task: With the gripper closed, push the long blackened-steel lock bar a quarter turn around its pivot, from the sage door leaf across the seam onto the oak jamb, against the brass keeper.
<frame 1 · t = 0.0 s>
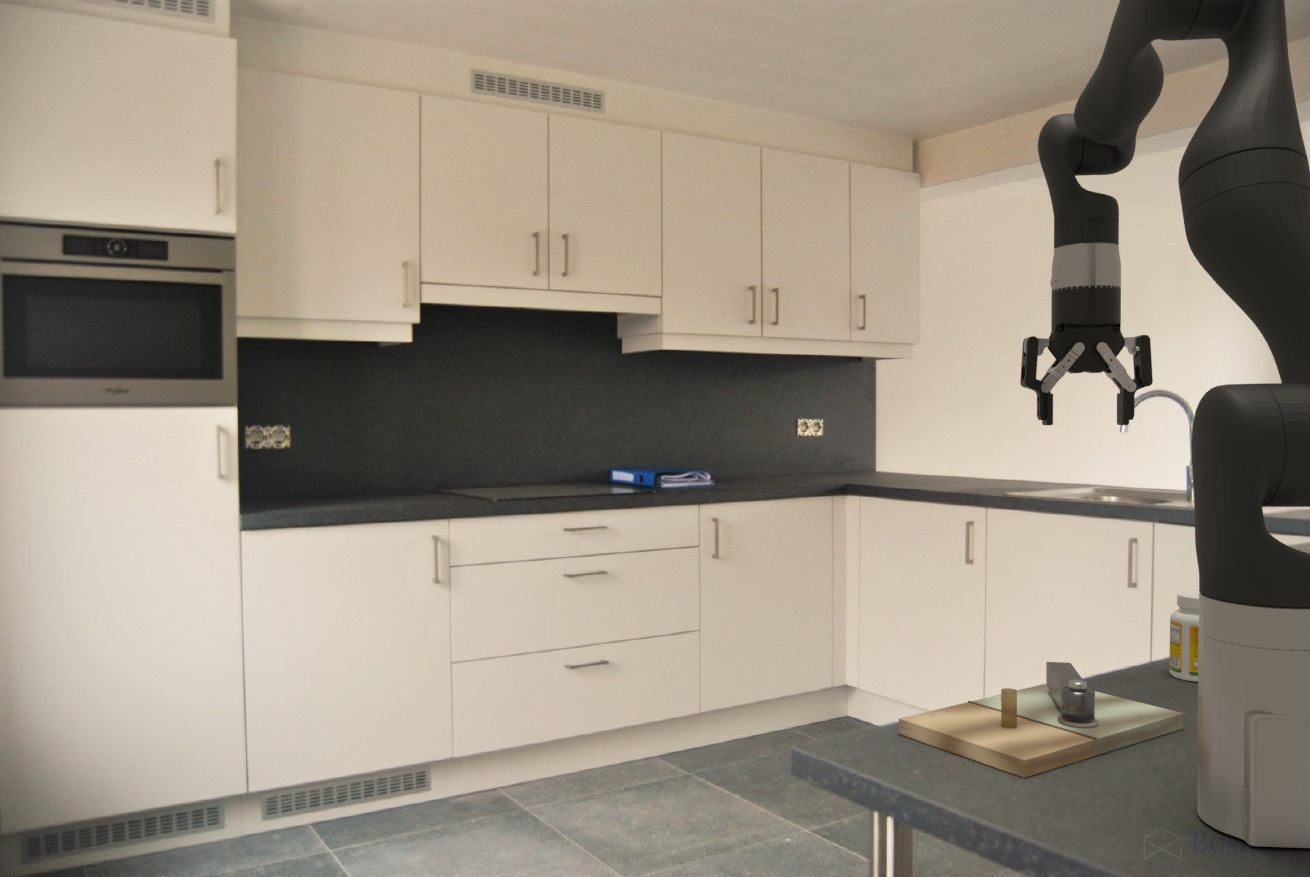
hand: (1085, 425, 123), 29 cm above the counter, fingers open, 8 cm apart
lock bar: (1068, 685, 104), point 4 cm above the counter, hinge at -90.0°
lock plate: (1013, 730, 102), on the counter
supplement bottle: (1195, 678, 122), on the counter
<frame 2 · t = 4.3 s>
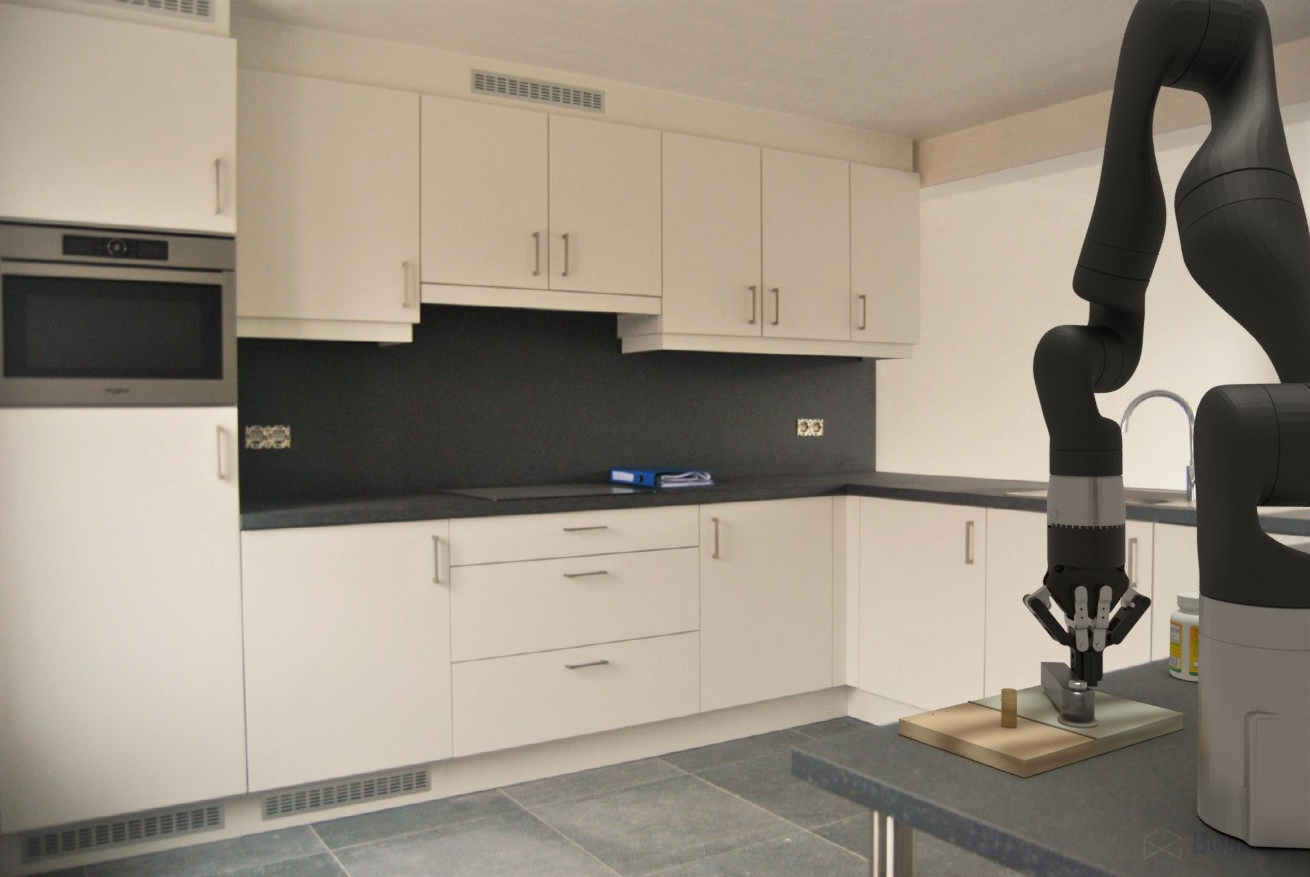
hand: (1086, 684, 109), 3 cm above the counter, fingers closed
lock bar: (1066, 685, 104), point 4 cm above the counter, hinge at -87.0°, touching gripper
everything else where it was.
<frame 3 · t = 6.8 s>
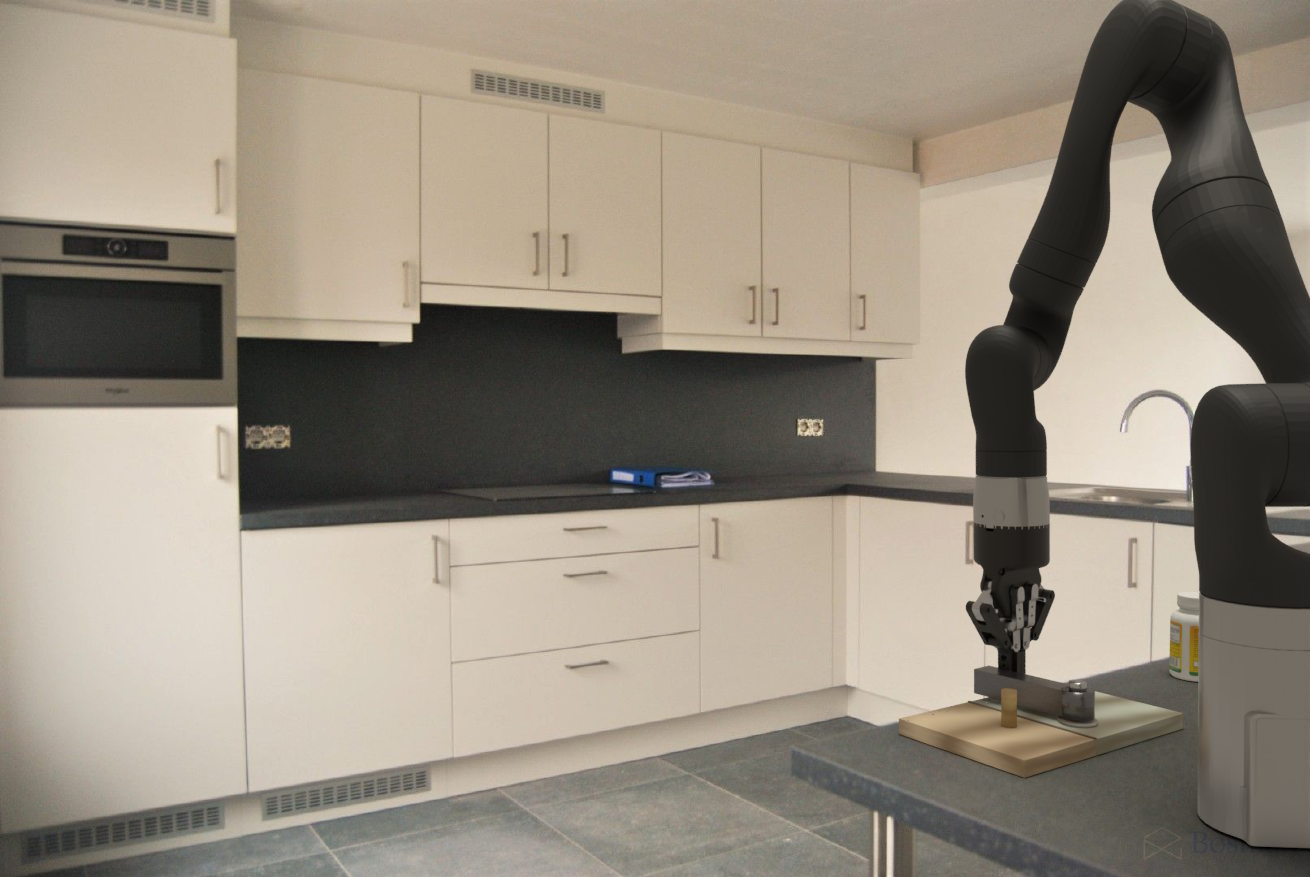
hand: (1011, 684, 109), 3 cm above the counter, fingers closed
lock bar: (1034, 688, 104), point 4 cm above the counter, hinge at -42.5°, touching gripper
everything else where it was.
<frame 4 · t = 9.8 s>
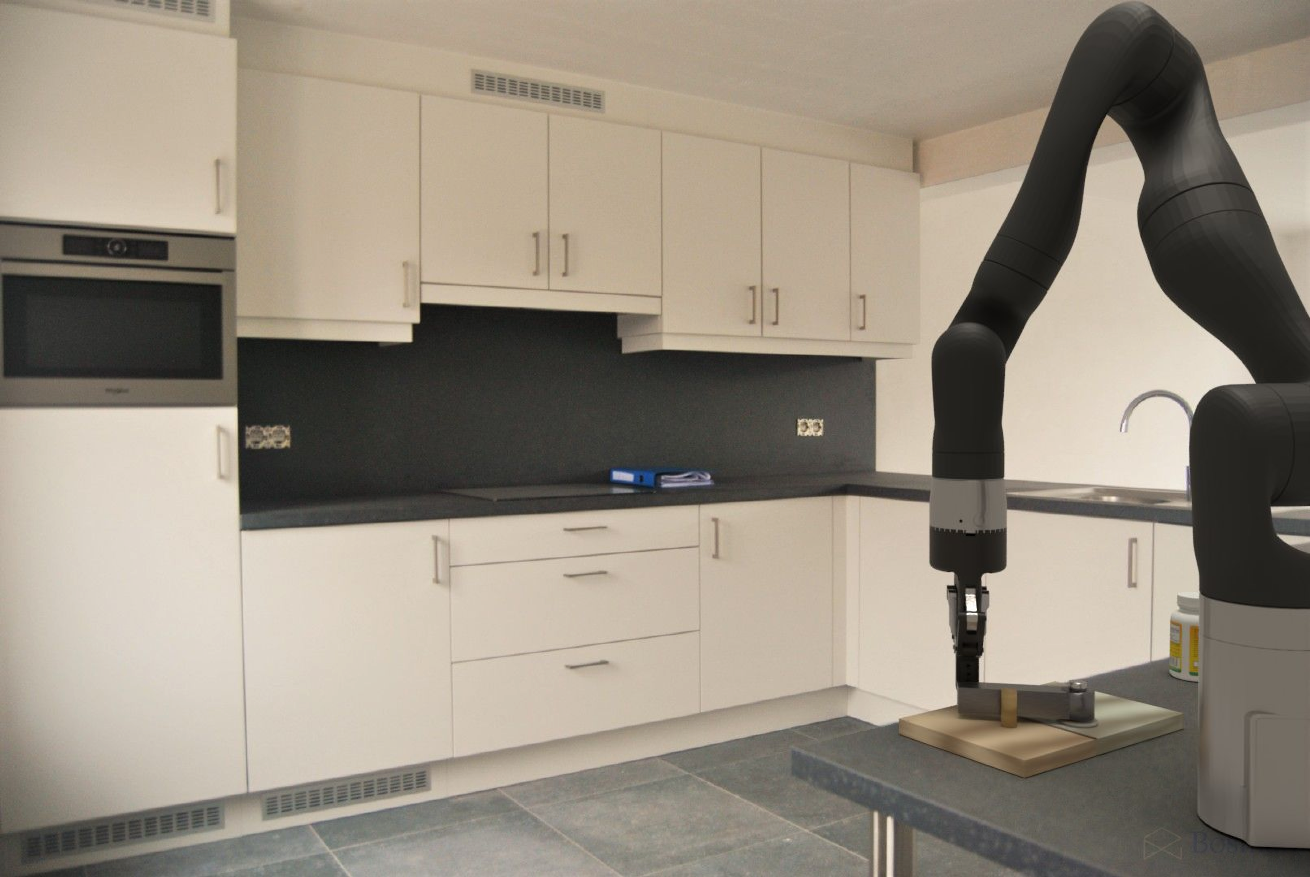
hand: (967, 692, 107), 3 cm above the counter, fingers closed
lock bar: (1025, 696, 101), point 4 cm above the counter, hinge at -1.2°
everything else where it was.
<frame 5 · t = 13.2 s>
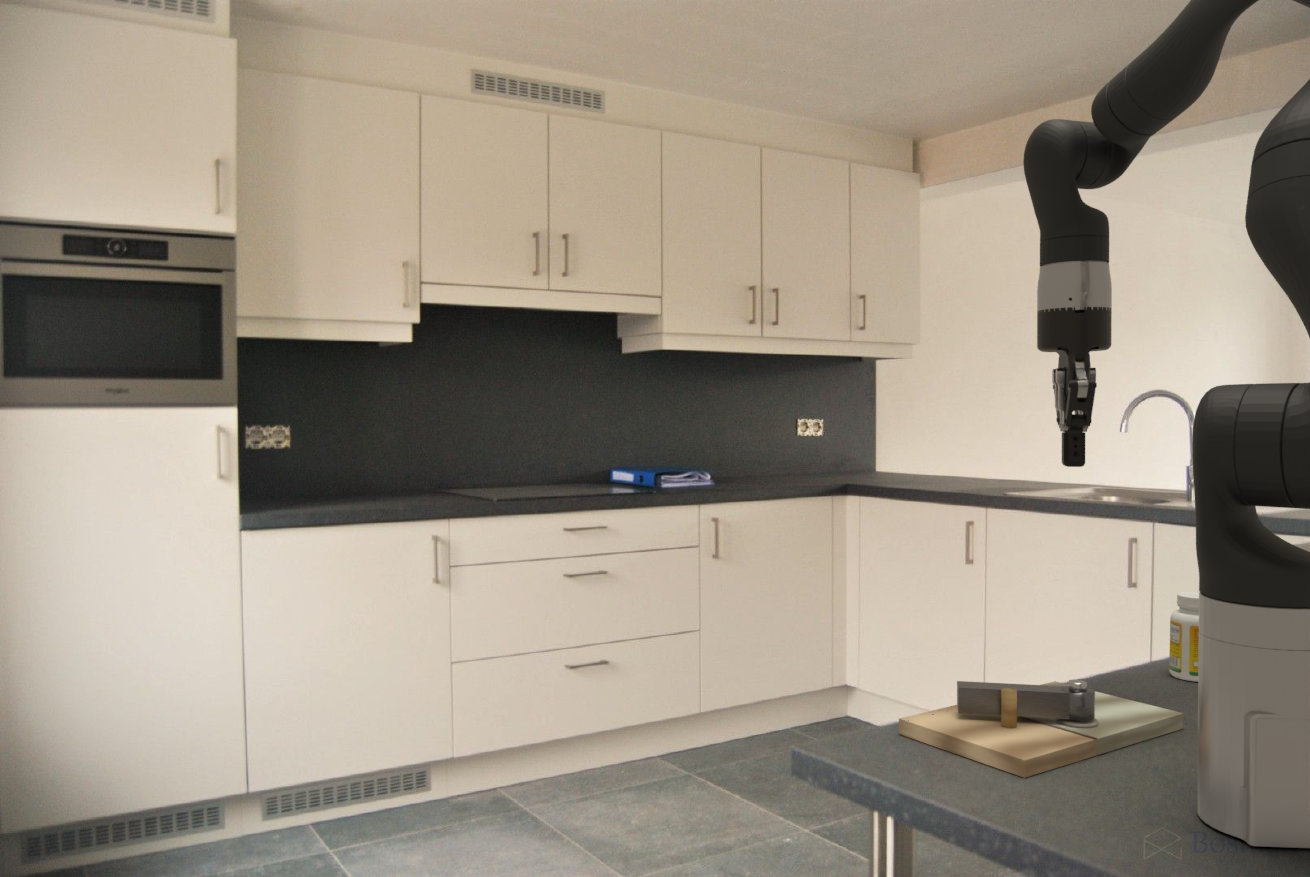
hand: (1073, 466, 115), 25 cm above the counter, fingers closed
nothing on the counter moved.
at the end: lock bar at -1° (first picture: -90°); supplement bottle moved 0.2 cm from its start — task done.
